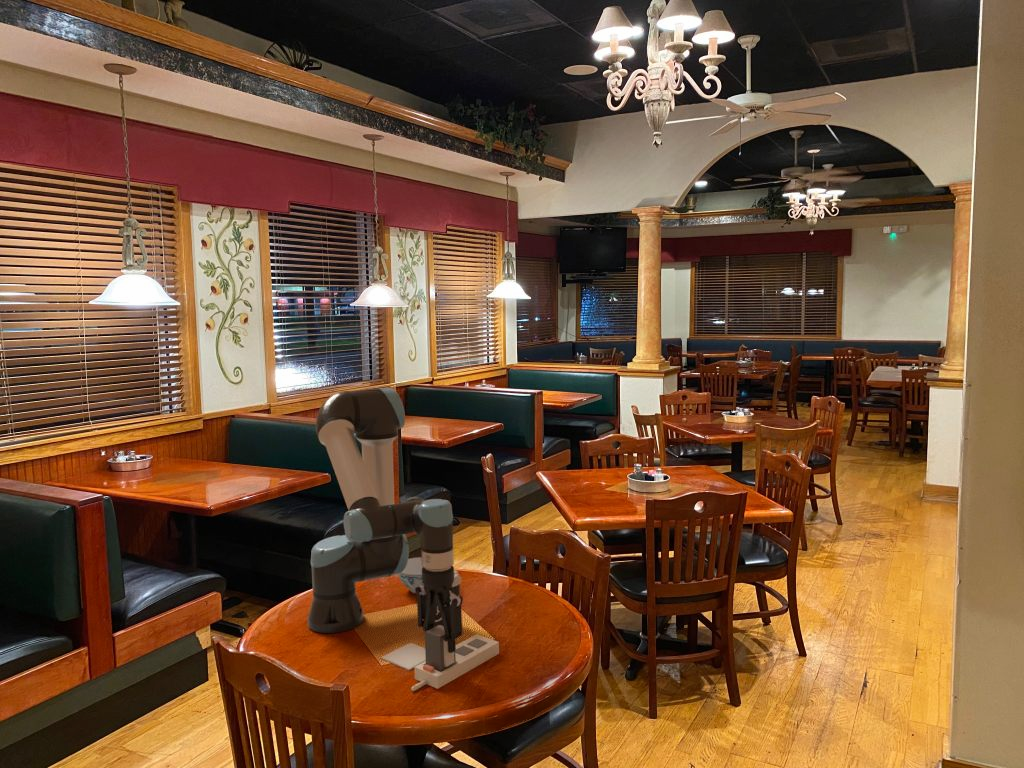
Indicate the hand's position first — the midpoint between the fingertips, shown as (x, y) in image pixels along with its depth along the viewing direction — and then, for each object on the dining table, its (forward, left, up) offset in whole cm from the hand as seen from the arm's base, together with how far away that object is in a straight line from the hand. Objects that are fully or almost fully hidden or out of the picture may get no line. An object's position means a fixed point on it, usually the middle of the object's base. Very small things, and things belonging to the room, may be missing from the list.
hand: (440, 660), depth 181 cm
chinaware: (-43, +35, -4) cm, 56 cm away
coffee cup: (-18, +20, -4) cm, 27 cm away
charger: (0, 0, -2) cm, 2 cm away
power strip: (0, +4, -4) cm, 5 cm away
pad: (-13, +2, -4) cm, 14 cm away
